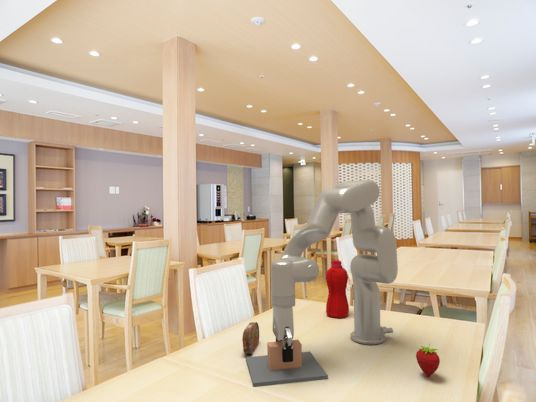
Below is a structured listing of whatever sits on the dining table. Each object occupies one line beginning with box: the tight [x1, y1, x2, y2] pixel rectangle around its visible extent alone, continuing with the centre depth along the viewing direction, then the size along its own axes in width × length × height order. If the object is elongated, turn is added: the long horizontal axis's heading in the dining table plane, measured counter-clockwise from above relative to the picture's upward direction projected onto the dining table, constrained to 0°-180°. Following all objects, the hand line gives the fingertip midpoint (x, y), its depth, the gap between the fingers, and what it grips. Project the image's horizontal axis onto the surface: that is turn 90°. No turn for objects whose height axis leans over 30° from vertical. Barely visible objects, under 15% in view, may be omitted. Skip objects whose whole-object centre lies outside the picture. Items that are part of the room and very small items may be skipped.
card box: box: [266, 339, 303, 370], centre depth 117 cm, size 4×10×7 cm, turn 100°
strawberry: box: [415, 343, 441, 378], centre depth 110 cm, size 6×8×10 cm
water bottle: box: [325, 259, 352, 319], centre depth 169 cm, size 9×11×25 cm
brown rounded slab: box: [241, 321, 260, 355], centre depth 133 cm, size 15×3×8 cm, turn 168°
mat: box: [245, 350, 329, 387], centre depth 117 cm, size 22×18×1 cm
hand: (284, 355), depth 117 cm, fingers open, 9 cm apart
